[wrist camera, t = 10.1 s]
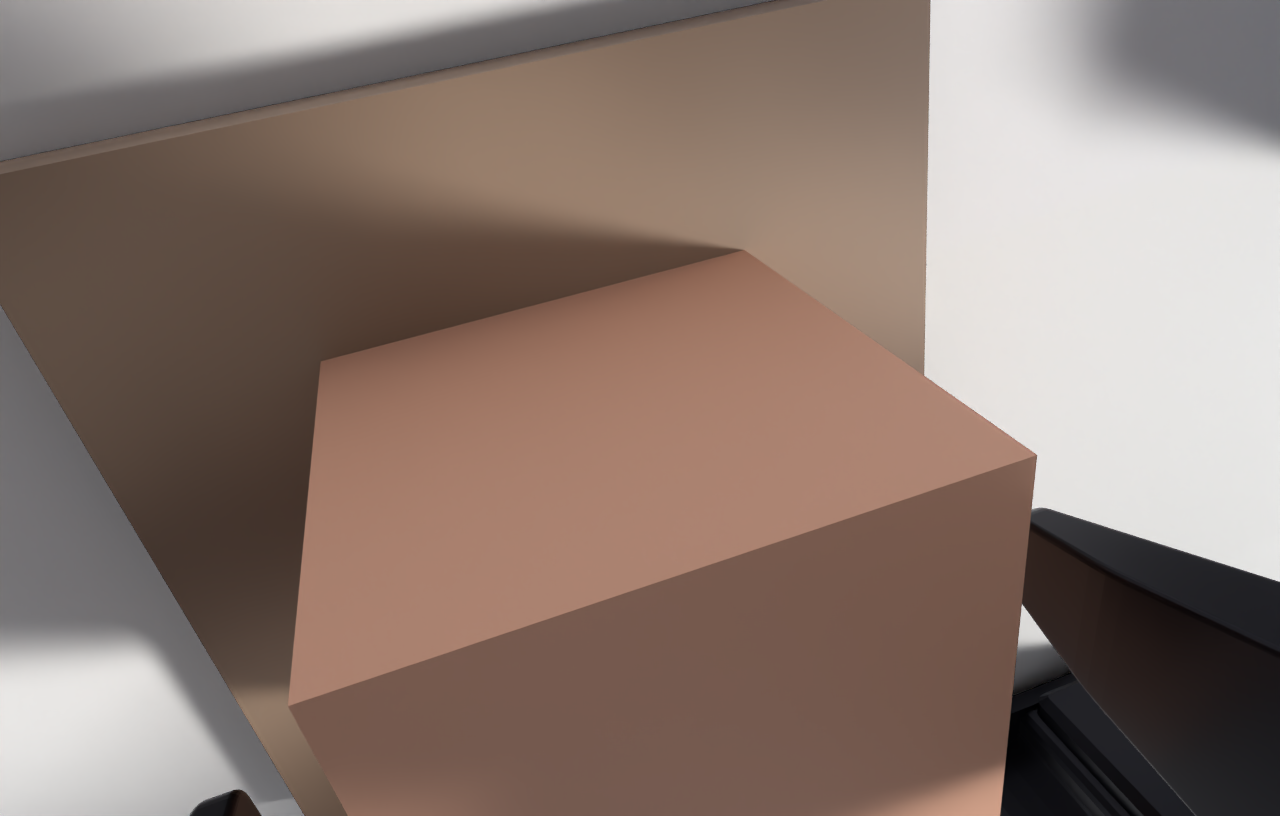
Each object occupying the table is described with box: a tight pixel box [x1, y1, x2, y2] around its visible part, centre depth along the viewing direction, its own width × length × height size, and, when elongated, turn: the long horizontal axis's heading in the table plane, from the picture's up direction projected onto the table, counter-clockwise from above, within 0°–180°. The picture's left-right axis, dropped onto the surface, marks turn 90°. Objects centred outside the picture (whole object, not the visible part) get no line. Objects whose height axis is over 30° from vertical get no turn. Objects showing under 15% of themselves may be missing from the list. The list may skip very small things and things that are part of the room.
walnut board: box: [0, 0, 930, 816], centre depth 13 cm, size 12×12×1 cm
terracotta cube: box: [288, 250, 1037, 816], centre depth 10 cm, size 6×6×6 cm
